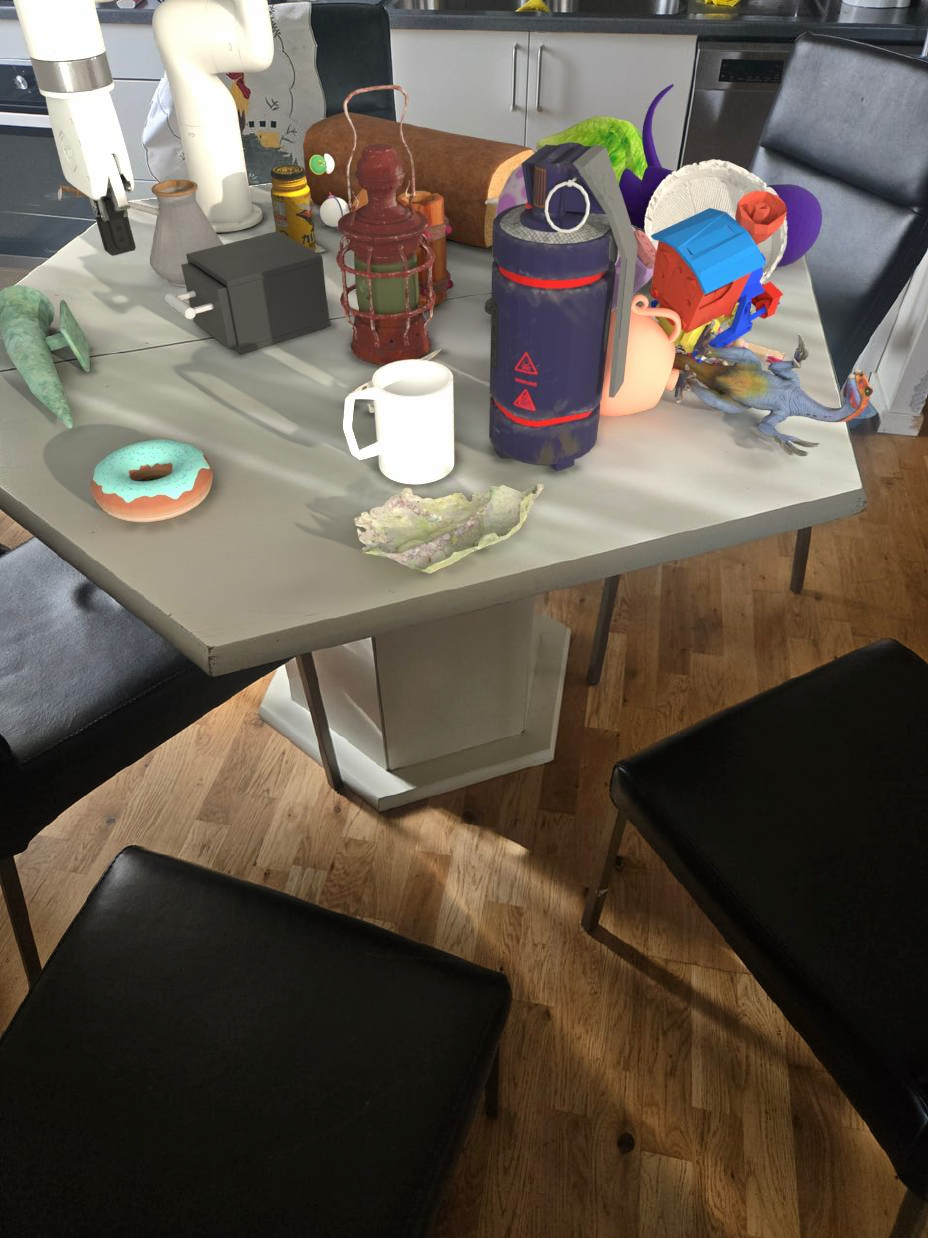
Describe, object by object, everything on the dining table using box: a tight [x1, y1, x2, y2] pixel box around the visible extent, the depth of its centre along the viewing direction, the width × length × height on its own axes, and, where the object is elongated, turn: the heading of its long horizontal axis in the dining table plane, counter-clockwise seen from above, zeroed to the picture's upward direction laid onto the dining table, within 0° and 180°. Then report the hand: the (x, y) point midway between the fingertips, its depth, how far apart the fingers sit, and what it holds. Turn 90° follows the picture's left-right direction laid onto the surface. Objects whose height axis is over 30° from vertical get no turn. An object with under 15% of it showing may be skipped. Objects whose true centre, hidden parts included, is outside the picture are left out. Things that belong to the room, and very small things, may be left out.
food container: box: [644, 159, 788, 285], centre depth 127 cm, size 20×20×7 cm
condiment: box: [269, 164, 327, 254], centre depth 139 cm, size 7×8×12 cm
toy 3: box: [619, 83, 823, 268], centre depth 135 cm, size 21×24×30 cm
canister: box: [488, 142, 638, 472], centre depth 89 cm, size 14×12×30 cm
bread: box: [302, 111, 536, 249], centre depth 150 cm, size 16×39×13 cm, turn 54°
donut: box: [90, 438, 214, 523], centre depth 91 cm, size 12×12×4 cm
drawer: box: [164, 263, 237, 350], centre depth 118 cm, size 16×10×8 cm, turn 128°
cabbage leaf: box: [354, 482, 545, 574], centre depth 85 cm, size 16×8×15 cm
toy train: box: [649, 191, 787, 364], centre depth 100 cm, size 10×16×15 cm, turn 118°
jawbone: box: [347, 348, 442, 414], centre depth 110 cm, size 17×5×2 cm, turn 148°
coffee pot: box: [57, 179, 224, 288], centre depth 128 cm, size 21×12×15 cm, turn 114°
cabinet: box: [186, 230, 331, 355], centre depth 119 cm, size 14×12×10 cm
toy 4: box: [675, 326, 786, 366], centre depth 110 cm, size 7×6×15 cm
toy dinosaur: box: [672, 319, 874, 457], centre depth 102 cm, size 11×22×20 cm
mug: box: [350, 188, 454, 308], centre depth 124 cm, size 15×8×15 cm, turn 71°
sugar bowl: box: [599, 293, 681, 417], centre depth 101 cm, size 12×14×10 cm
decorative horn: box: [0, 284, 91, 430], centre depth 109 cm, size 7×11×30 cm
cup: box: [342, 358, 455, 485], centre depth 93 cm, size 8×12×10 cm
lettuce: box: [536, 115, 648, 185], centre depth 150 cm, size 15×22×15 cm, turn 54°
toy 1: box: [309, 154, 350, 233], centre depth 147 cm, size 6×12×8 cm
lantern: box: [335, 84, 436, 365], centre depth 107 cm, size 12×12×30 cm
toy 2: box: [495, 164, 657, 312], centre depth 121 cm, size 17×23×30 cm
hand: (120, 250), depth 106 cm, fingers closed
